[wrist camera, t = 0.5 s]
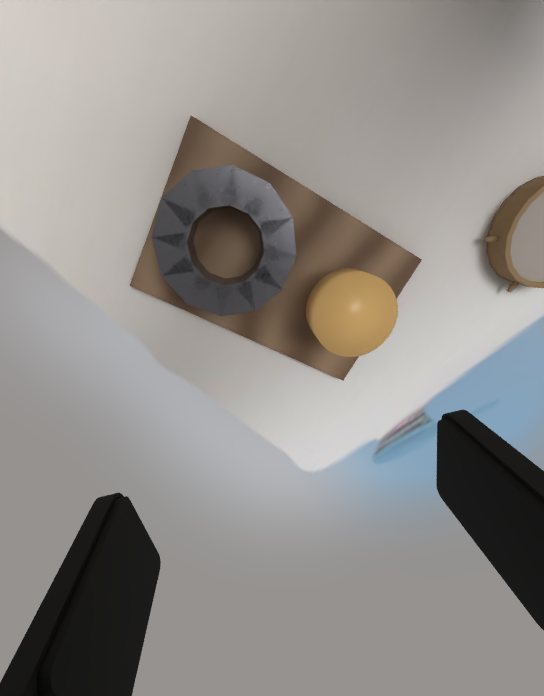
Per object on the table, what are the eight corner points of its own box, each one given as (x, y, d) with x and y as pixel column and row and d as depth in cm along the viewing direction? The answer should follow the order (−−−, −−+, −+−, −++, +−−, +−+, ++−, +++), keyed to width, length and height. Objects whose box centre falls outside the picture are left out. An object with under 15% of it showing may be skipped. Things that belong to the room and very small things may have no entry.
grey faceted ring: (280, 166, 28) (287, 157, 24) (293, 295, 32) (301, 304, 29) (149, 184, 27) (135, 177, 23) (181, 312, 32) (174, 323, 28)
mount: (415, 258, 33) (421, 259, 32) (339, 376, 38) (343, 380, 37) (192, 120, 27) (191, 115, 25) (133, 283, 31) (129, 285, 30)
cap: (366, 258, 32) (399, 267, 25) (366, 326, 34) (396, 349, 28) (295, 269, 31) (309, 280, 25) (301, 336, 34) (316, 362, 28)
